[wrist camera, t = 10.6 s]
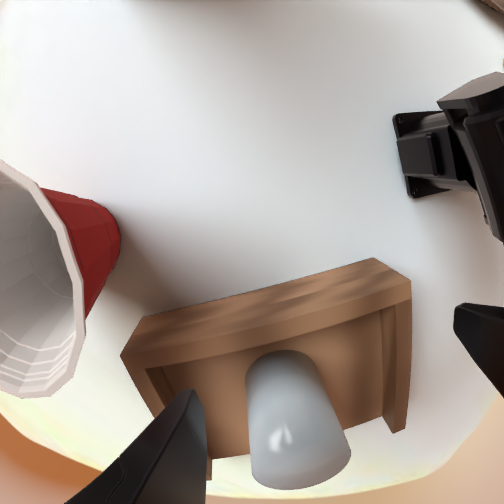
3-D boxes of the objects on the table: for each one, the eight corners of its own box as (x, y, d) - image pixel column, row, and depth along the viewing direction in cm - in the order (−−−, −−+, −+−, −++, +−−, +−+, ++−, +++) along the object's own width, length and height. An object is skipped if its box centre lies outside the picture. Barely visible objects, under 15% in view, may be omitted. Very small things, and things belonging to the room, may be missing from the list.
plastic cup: (188, 226, 20) (132, 288, 9) (109, 330, 22) (39, 433, 10) (79, 134, 18) (-39, 110, 6) (18, 245, 20) (-85, 292, 8)
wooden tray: (373, 257, 22) (410, 280, 16) (381, 392, 25) (404, 428, 20) (142, 317, 22) (119, 355, 16) (201, 438, 25) (198, 481, 20)
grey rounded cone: (311, 340, 19) (349, 423, 12) (321, 394, 21) (352, 474, 13) (236, 360, 19) (239, 451, 12) (254, 411, 21) (264, 496, 13)
